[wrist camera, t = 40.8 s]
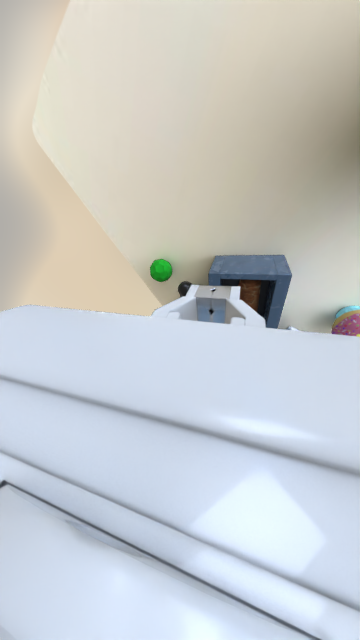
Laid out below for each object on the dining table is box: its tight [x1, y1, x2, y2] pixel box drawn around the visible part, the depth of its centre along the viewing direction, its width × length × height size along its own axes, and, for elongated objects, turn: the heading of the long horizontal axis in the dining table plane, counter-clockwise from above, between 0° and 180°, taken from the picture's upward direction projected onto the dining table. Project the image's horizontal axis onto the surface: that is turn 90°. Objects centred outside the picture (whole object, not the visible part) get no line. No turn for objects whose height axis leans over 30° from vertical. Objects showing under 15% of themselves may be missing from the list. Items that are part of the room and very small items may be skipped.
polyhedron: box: [150, 259, 172, 282], centre depth 42 cm, size 5×5×5 cm
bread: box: [238, 279, 261, 312], centre depth 40 cm, size 6×19×6 cm, turn 0°
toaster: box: [208, 255, 292, 329], centre depth 41 cm, size 13×24×9 cm, turn 7°
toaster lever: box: [178, 281, 192, 297], centre depth 39 cm, size 12×3×3 cm, turn 7°
